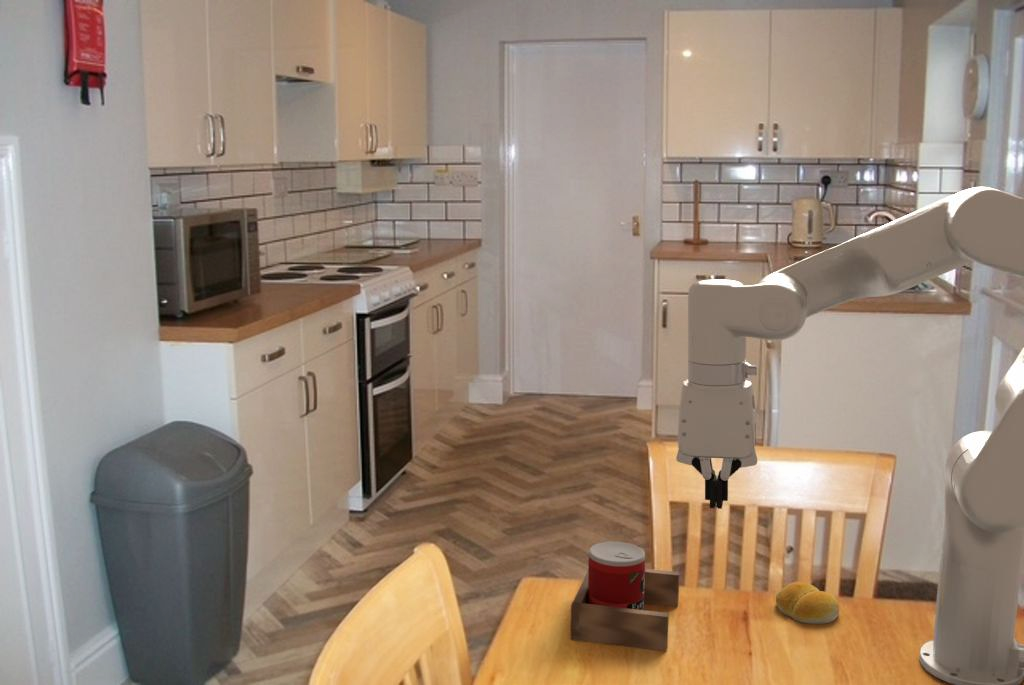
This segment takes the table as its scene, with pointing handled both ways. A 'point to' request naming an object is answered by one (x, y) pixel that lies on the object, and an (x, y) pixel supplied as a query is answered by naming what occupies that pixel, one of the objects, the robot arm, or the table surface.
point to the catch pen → (627, 615)
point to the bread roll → (807, 603)
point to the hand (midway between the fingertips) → (716, 505)
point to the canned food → (616, 575)
